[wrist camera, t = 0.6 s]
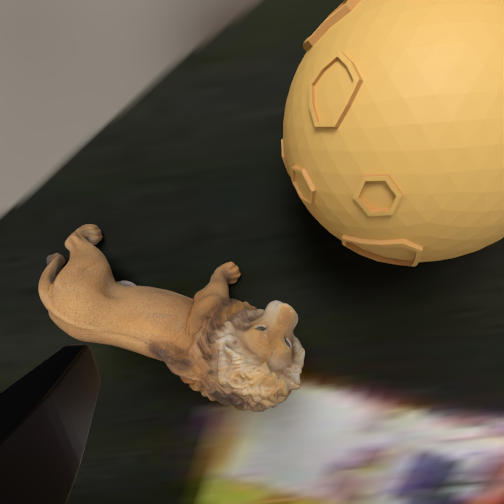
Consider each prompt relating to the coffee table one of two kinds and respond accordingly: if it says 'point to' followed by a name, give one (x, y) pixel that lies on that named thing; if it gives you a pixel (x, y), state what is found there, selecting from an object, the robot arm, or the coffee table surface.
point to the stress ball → (402, 127)
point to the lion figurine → (178, 326)
